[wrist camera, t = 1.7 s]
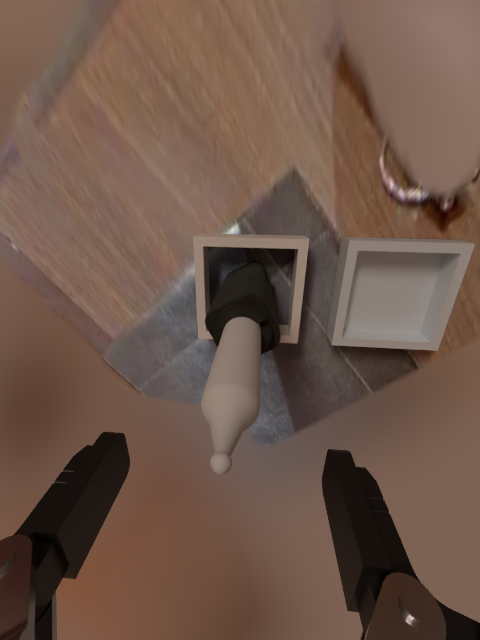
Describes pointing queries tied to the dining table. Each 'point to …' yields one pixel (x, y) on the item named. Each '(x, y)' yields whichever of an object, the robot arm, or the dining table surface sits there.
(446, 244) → the grey tray
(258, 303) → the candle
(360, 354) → the dining table surface
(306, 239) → the grey frame
